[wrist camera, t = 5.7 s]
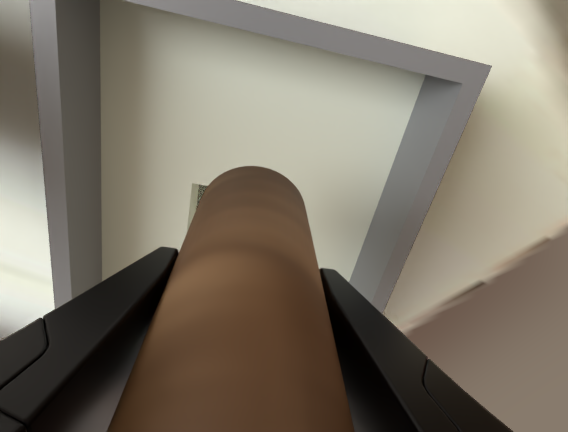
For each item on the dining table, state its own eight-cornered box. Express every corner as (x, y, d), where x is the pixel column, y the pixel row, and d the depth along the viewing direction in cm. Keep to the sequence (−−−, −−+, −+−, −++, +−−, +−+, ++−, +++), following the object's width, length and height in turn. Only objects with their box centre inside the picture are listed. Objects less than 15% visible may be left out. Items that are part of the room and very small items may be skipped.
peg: (194, 254, 12) (0, 841, 3) (203, 156, 11) (-113, 765, 2) (294, 267, 13) (358, 818, 4) (316, 175, 11) (512, 741, 2)
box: (108, 324, 26) (63, 406, 21) (108, -23, 17) (24, -54, 11) (317, 351, 28) (329, 432, 23) (423, 56, 19) (492, 65, 13)
